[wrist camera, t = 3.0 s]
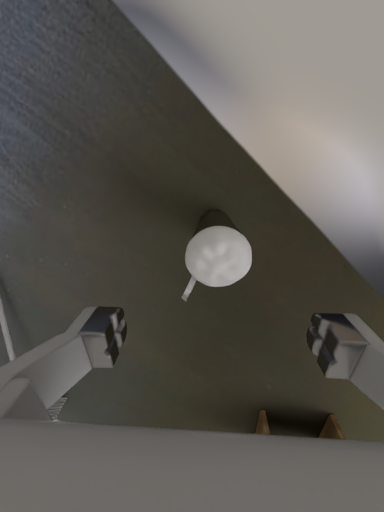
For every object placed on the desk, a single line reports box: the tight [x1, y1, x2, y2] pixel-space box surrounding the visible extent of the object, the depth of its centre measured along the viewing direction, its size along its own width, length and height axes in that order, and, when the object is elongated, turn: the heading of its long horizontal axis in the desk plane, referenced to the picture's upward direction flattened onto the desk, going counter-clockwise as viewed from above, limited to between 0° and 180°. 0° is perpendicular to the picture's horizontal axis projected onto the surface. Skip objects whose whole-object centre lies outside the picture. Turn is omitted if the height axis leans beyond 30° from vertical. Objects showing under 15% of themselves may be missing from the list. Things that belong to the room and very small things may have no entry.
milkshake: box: [182, 209, 252, 301], centre depth 17 cm, size 4×5×10 cm
